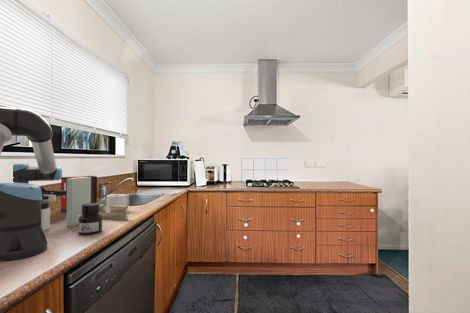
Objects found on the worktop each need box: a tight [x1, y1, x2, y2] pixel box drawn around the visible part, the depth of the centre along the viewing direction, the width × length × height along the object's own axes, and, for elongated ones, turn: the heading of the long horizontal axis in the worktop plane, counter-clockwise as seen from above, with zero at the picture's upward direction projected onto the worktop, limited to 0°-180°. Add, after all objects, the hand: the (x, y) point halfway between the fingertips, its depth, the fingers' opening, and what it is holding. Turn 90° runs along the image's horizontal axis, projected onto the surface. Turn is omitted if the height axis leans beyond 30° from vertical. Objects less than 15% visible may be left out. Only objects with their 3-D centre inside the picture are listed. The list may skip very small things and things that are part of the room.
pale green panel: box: [66, 177, 91, 227], centre depth 123 cm, size 11×3×22 cm, turn 167°
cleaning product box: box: [60, 175, 98, 214], centre depth 154 cm, size 16×9×20 cm, turn 143°
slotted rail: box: [99, 203, 129, 221], centre depth 132 cm, size 2×22×7 cm, turn 77°
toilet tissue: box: [105, 193, 127, 211], centre depth 147 cm, size 11×12×10 cm
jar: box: [41, 200, 51, 232], centre depth 111 cm, size 9×8×12 cm
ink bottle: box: [77, 202, 103, 236], centre depth 108 cm, size 10×9×12 cm
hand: (67, 195), depth 125 cm, fingers open, 13 cm apart
